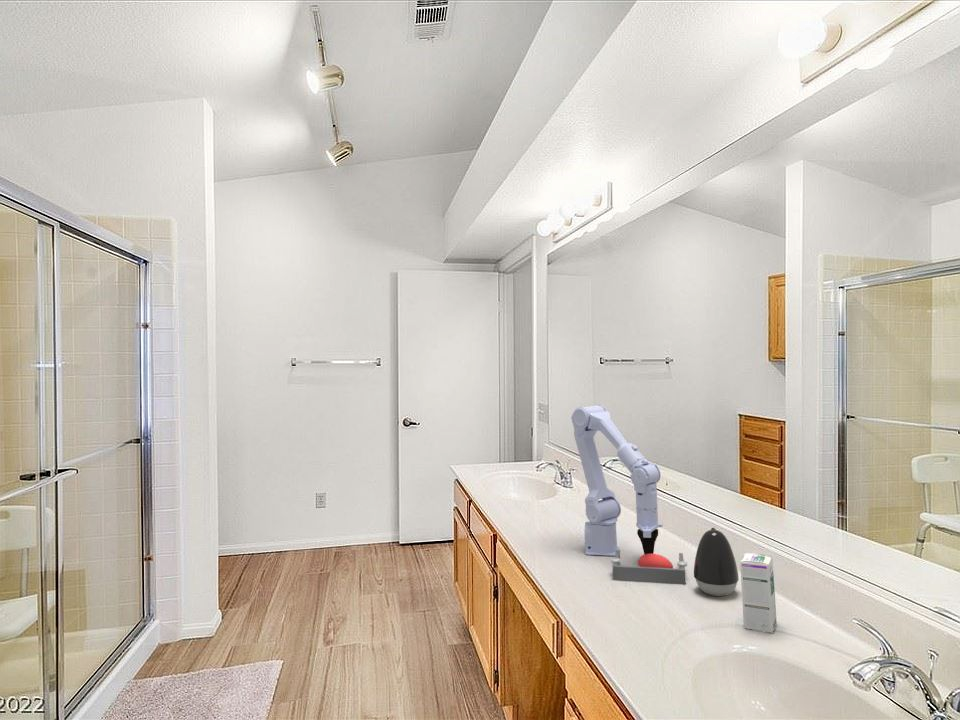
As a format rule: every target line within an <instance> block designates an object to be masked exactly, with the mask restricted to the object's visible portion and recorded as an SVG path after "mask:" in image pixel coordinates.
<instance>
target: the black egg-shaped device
mask: <svg viewBox="0 0 960 720" xmlns="http://www.w3.org/2000/svg"><path fill="white" fill-rule="evenodd" d="M693 563H694V565H693V577H694V579H695V582H696V584H697V586H698V587H699V589H700V590H701V591H703V593H705V594H707V595H710V596H714V597H715V596H716V597H725V596H728V595H730V594H732V593H733V592H734V591H735V589H736V588H737V585H738V582H739V571H738V565H737V562H736V557H735V555H734V551H733V548H732V547H731V544H730V541H729V540H728V538H727V537H726V535H725V534H724V533H723V532H721V531H720V530H717V529H716V528H715V527H711V528H710V529H709V530H707V531H705V532H704V533H703V534H702V536H701V538H700V540H699V543H698V546H697V549H696V553H695V559H694V562H693Z"/></svg>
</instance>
